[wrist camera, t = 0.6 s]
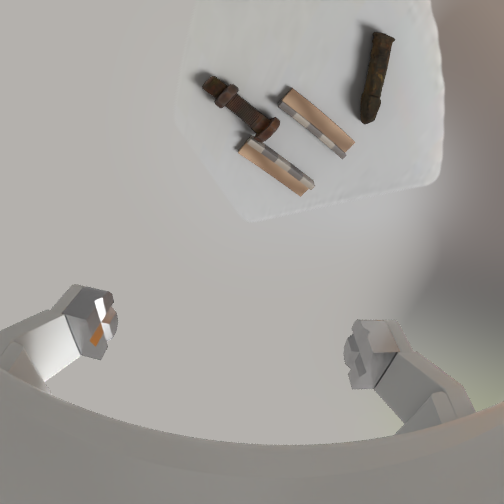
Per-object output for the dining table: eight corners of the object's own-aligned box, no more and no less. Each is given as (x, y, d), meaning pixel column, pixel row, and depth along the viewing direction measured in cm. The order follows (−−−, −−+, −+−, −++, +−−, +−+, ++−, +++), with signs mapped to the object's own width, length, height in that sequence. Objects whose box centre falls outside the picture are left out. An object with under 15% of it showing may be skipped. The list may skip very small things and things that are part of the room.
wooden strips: (292, 87, 43) (293, 89, 41) (353, 140, 49) (357, 144, 47) (238, 150, 52) (237, 155, 50) (299, 193, 58) (301, 199, 56)
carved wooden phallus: (370, 30, 34) (379, 30, 30) (389, 38, 34) (400, 38, 30) (348, 117, 46) (354, 123, 43) (366, 122, 47) (374, 129, 43)
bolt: (213, 76, 43) (273, 125, 50) (196, 95, 44) (257, 143, 50) (219, 66, 38) (284, 121, 44) (199, 86, 39) (267, 141, 45)
